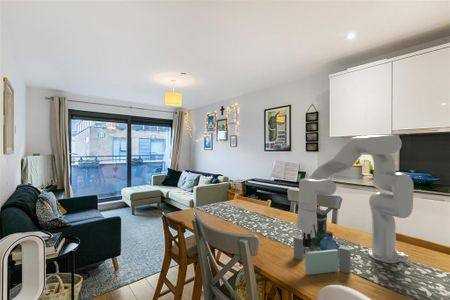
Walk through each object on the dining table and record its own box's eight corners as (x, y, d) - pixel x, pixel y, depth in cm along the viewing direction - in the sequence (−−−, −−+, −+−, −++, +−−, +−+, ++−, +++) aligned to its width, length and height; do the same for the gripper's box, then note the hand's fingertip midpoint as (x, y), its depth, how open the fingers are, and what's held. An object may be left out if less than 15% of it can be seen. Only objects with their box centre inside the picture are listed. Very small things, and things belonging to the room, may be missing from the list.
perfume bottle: (332, 253, 112) (332, 230, 112) (338, 259, 106) (338, 234, 106) (320, 253, 112) (320, 230, 112) (326, 259, 106) (326, 235, 106)
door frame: (350, 270, 96) (350, 247, 96) (349, 273, 94) (349, 250, 94) (295, 255, 110) (295, 235, 110) (294, 257, 108) (293, 237, 108)
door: (336, 269, 97) (336, 249, 96) (338, 271, 95) (338, 250, 95) (305, 273, 94) (305, 252, 94) (306, 274, 93) (306, 253, 93)
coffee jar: (321, 247, 119) (321, 213, 119) (308, 242, 125) (307, 210, 125) (329, 242, 126) (329, 209, 125) (315, 238, 131) (315, 207, 131)
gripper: (292, 202, 106) (291, 240, 106) (308, 211, 91) (308, 254, 91) (306, 201, 107) (305, 239, 107) (325, 210, 92) (324, 253, 93)
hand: (306, 246), depth 99 cm, fingers closed
